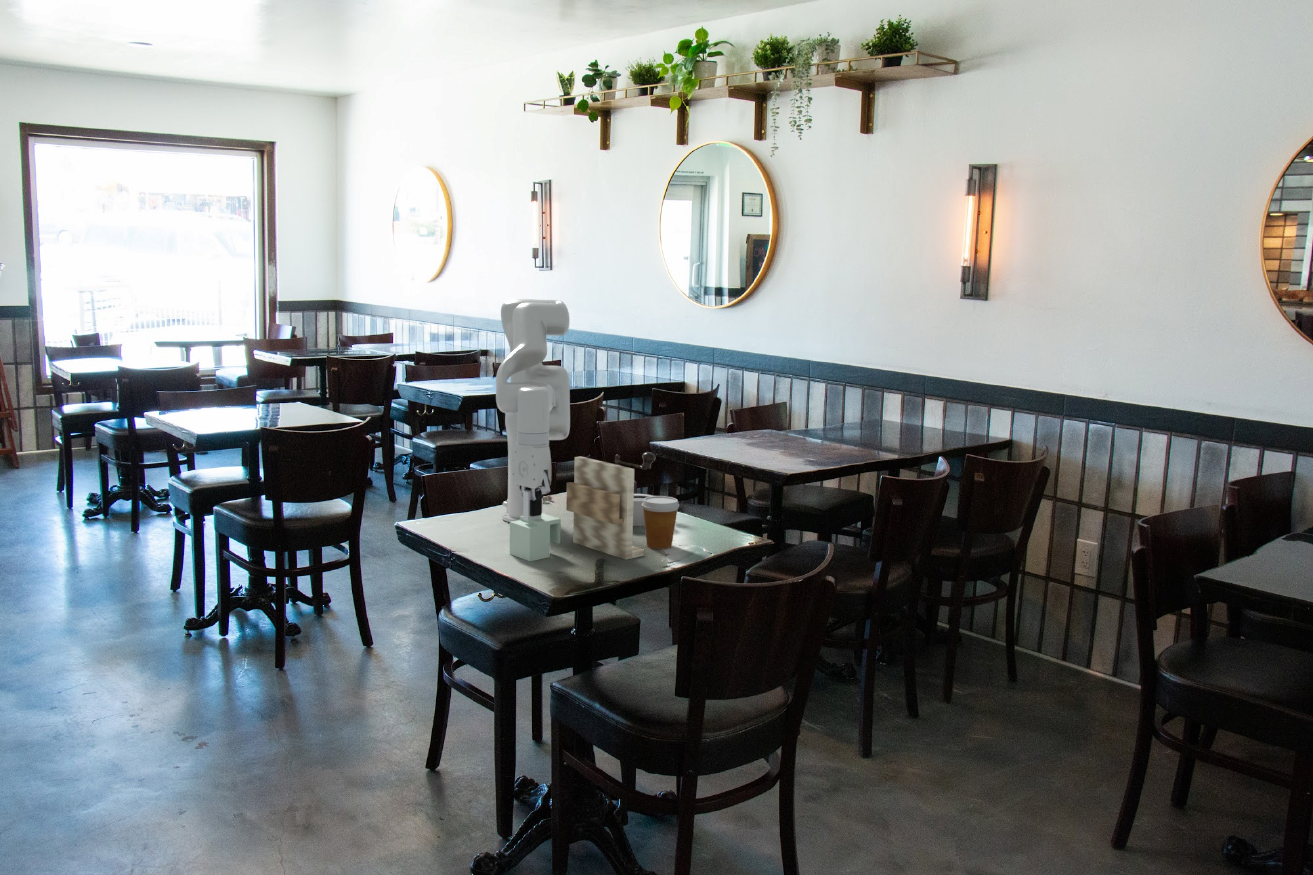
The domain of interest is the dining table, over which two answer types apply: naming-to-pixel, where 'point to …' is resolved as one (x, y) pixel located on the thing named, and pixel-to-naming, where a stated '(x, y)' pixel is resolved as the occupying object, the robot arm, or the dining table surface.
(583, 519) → the wall board
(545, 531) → the mint green box
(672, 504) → the disposable coffee cup
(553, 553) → the dining table surface
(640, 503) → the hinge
